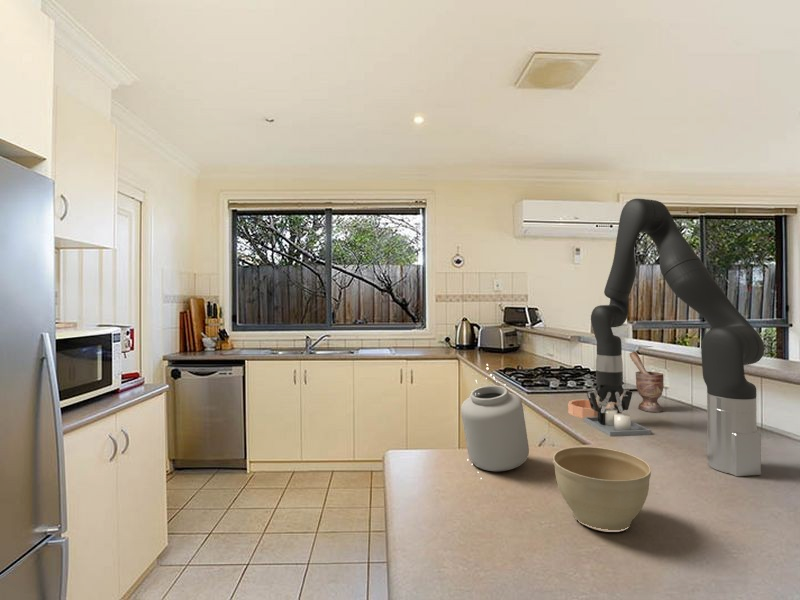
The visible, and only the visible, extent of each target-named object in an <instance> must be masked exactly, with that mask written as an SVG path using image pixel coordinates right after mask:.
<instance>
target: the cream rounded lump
mask: <svg viewBox="0 0 800 600" xmlns="http://www.w3.org/2000/svg"><path fill="white" fill-rule="evenodd" d="M604 413H605V425H607V426H614V414H617V413H618V410H617V409H615V408H614V407H611V408H610V407H606V408H605V412H604Z"/></svg>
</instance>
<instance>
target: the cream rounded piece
mask: <svg viewBox="0 0 800 600" xmlns="http://www.w3.org/2000/svg"><path fill="white" fill-rule="evenodd" d="M631 421H632V416H631V415H630V414H628V413H623V412H622V413H617V414H614V430H615V431H628V430H631Z"/></svg>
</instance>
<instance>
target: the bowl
mask: <svg viewBox="0 0 800 600" xmlns="http://www.w3.org/2000/svg"><path fill="white" fill-rule="evenodd" d="M596 401H597V404H598V400H596ZM567 406H568V407H567V409H568V411H567V413H568V414H569V415H571V416H573V417H576V418H581V419H584V417H598V412H597V411H595V410H593V409H592V408H591V405H590V402H589V399H585V398H584V399H572V400H569V401H568V404H567ZM606 407H610V408H612V407H611V404H610V403H608V405H607V406H606Z"/></svg>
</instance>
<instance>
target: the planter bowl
mask: <svg viewBox="0 0 800 600" xmlns="http://www.w3.org/2000/svg"><path fill="white" fill-rule="evenodd" d="M552 461H553V465H554V472H555V473H554V474H555V480H556V483H557V486H558V489H559V491H560V493H561V496H562V497H563V499H564V501H565V503H566V504H567V506H568V508H570V510H571V511H572V515H574V516H573V517H575V518H576V519H577V520H579V521H580V522H582V523H584V524H587V525H589V526H592V527H596V528H601V529H608V530H621V529H625V528H627V527H629V526H630V524H631V525H632V521H633V520H634V519H635V518H637V516H638V514H639V513H640V512H641V510H642V509H643V507H644V505H645V503H646V500H647V497H648V495H649V494H648V493H649V489H650V488H649V487H650V478H651V476H652V475H651V474H652V470H651V466H650V465H649V464H648V463H647V462H646V461H645V460H643V459H642V458H640V457H638V456H636V455H633V454H631V453H628V452H626V451H625V452H624V451H620V450H615V449H612V448H606V447H605V448H604V447H597V446H571V447H565V448H561V449H560V450H558V451H556V452H555V453H554V454H553V457H552ZM575 518H574V519H575ZM630 527H631V526H630Z"/></svg>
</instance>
